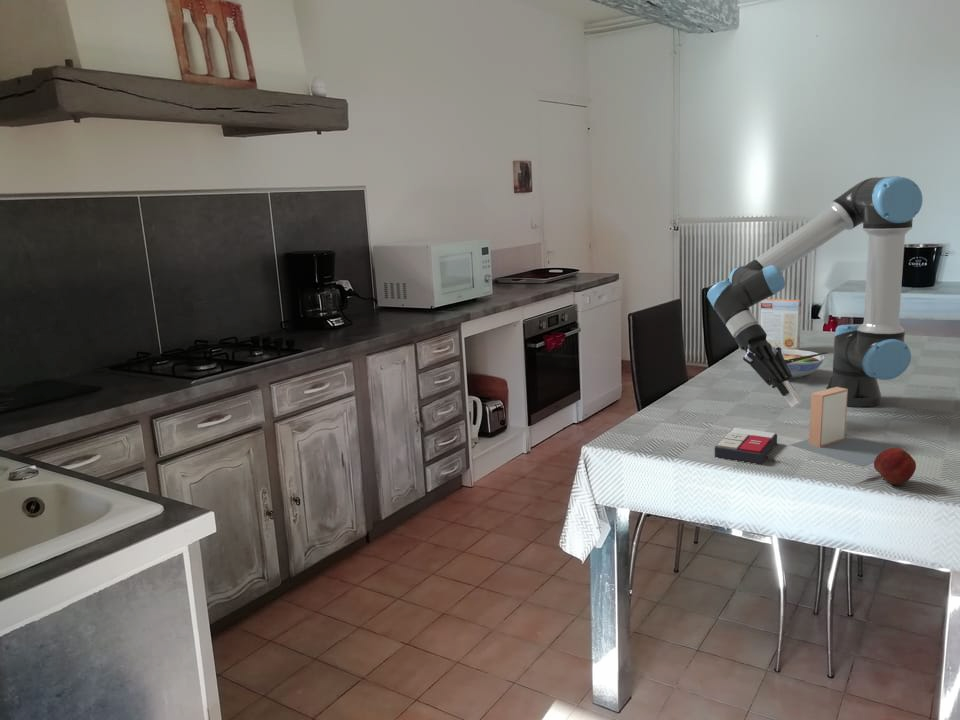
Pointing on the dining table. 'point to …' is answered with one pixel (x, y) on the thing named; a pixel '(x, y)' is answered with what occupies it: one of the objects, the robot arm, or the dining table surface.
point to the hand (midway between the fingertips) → (796, 404)
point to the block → (828, 416)
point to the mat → (848, 450)
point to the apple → (895, 465)
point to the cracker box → (781, 322)
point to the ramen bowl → (802, 361)
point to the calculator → (746, 445)
